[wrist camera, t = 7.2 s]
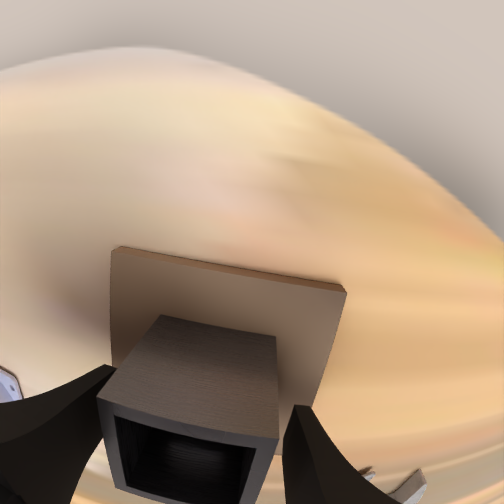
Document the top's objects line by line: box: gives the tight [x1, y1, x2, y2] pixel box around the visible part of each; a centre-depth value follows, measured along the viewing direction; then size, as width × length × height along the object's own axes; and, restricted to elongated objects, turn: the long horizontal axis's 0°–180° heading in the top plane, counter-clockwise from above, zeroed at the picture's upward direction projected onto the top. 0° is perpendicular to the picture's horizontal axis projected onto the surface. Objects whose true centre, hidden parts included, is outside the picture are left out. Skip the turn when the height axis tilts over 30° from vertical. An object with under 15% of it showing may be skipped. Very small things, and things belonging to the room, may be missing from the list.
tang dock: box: [110, 247, 347, 455], centre depth 13 cm, size 10×10×4 cm
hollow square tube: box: [96, 314, 280, 504], centre depth 10 cm, size 5×5×6 cm
